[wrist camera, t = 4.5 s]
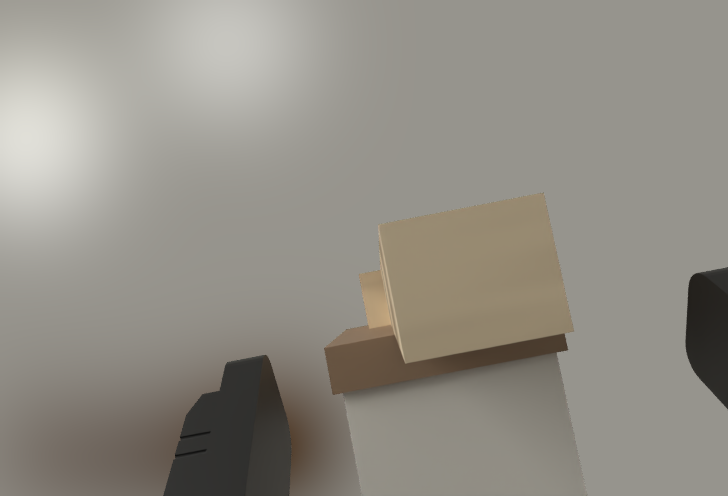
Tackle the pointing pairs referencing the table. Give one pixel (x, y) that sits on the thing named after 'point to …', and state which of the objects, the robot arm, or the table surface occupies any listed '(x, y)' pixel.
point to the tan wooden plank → (468, 279)
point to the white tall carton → (456, 418)
